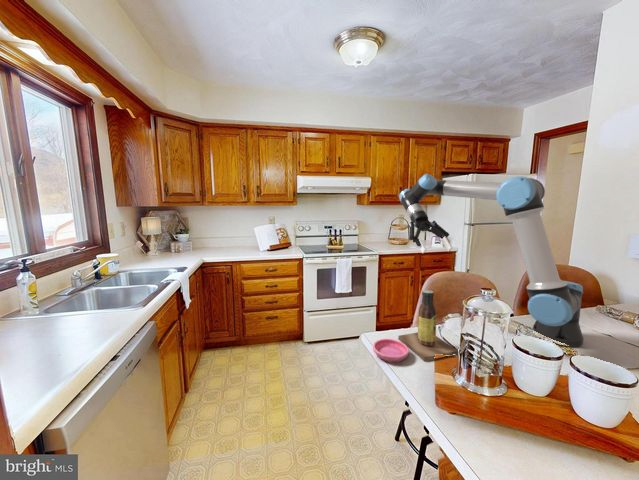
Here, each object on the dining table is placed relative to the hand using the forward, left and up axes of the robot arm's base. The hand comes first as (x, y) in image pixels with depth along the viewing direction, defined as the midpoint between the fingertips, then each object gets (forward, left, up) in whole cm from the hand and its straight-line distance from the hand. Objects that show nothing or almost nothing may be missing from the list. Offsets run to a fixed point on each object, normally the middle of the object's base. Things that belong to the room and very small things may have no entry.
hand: (437, 250), depth 119 cm
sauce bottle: (+18, +18, -31) cm, 40 cm away
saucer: (+34, +18, -33) cm, 51 cm away
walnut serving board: (+18, +18, -33) cm, 41 cm away
